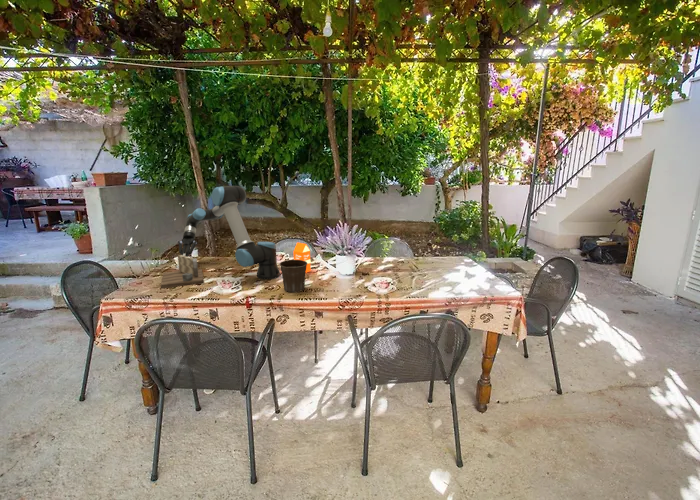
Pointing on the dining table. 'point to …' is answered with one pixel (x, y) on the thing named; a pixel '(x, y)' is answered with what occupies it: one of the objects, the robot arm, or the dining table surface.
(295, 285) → the plant pot
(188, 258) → the leg panel
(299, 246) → the orange juice
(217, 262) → the dining table surface
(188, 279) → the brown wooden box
